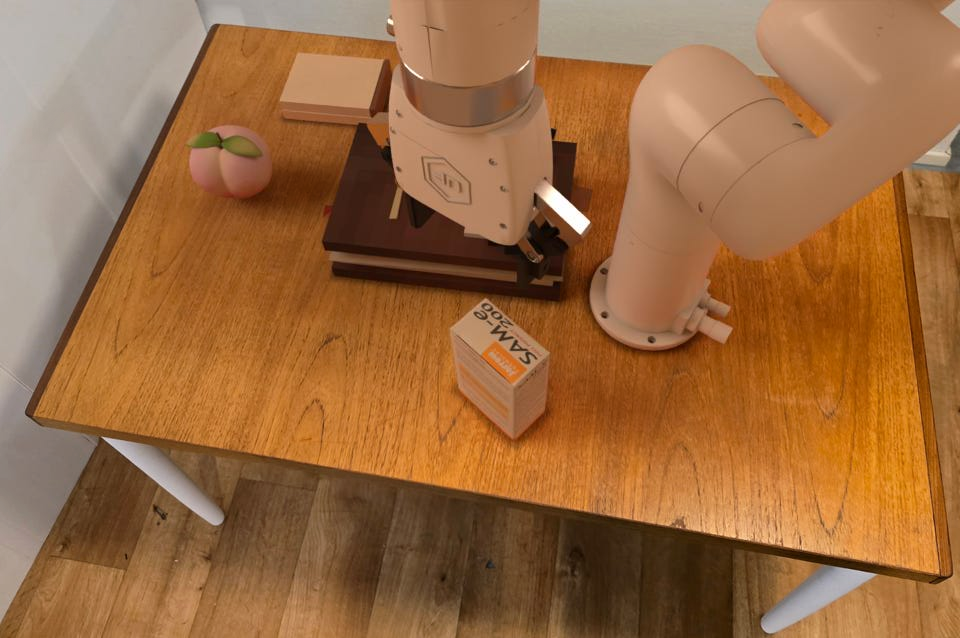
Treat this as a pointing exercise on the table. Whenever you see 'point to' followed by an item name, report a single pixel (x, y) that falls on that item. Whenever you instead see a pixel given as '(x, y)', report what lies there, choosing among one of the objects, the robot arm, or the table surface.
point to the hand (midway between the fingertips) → (478, 244)
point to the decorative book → (429, 232)
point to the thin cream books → (336, 88)
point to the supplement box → (500, 368)
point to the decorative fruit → (230, 161)
